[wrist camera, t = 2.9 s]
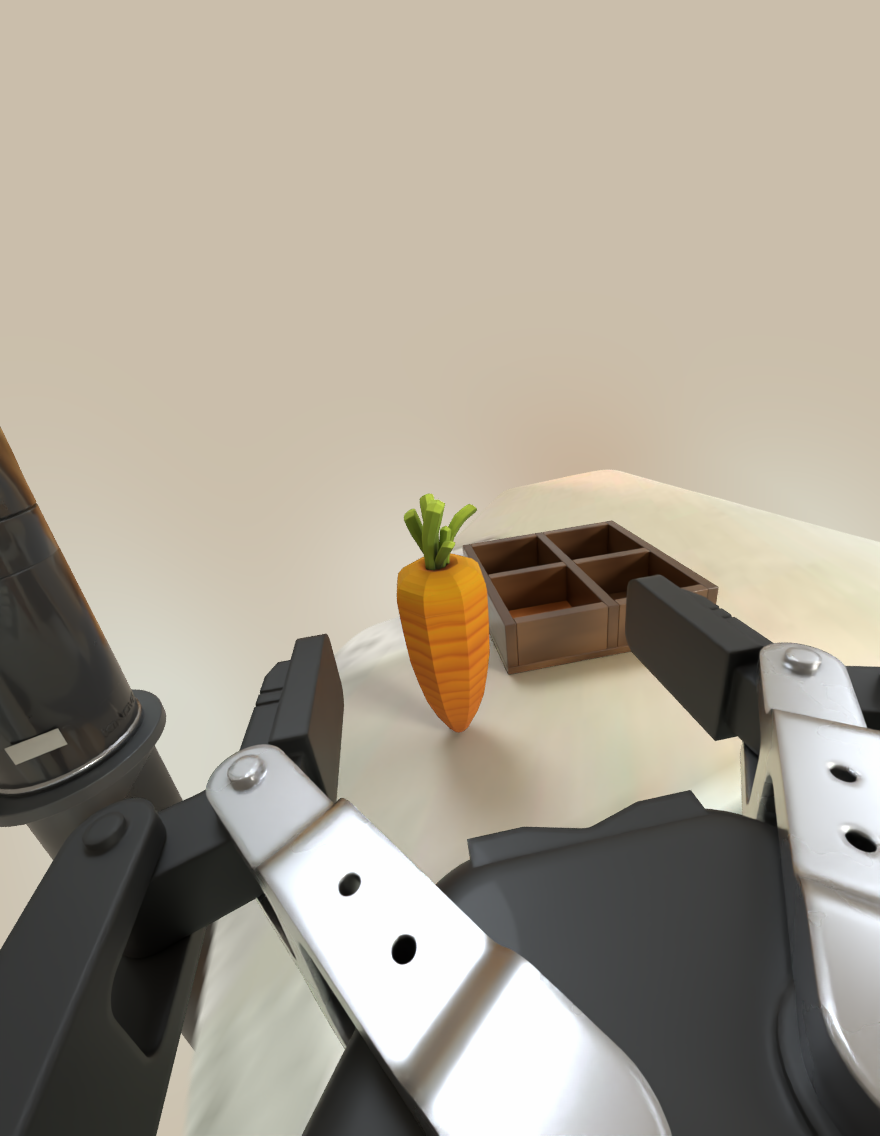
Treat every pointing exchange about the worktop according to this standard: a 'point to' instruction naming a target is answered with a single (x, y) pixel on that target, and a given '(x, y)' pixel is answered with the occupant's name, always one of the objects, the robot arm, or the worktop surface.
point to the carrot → (445, 616)
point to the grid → (568, 591)
